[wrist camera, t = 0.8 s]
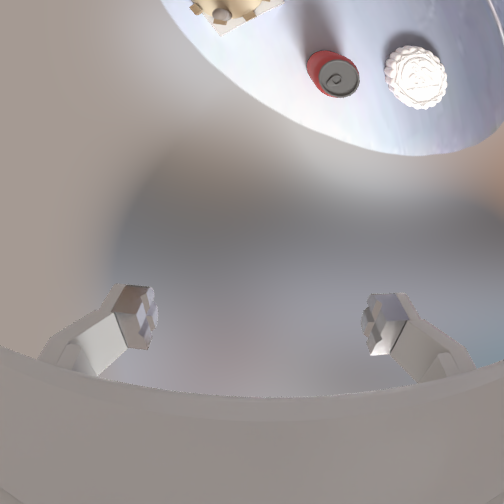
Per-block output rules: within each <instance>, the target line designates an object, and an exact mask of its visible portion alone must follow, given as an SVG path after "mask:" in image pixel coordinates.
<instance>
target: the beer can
mask: <svg viewBox="0 0 504 504" xmlns="http://www.w3.org/2000/svg"><path fill="white" fill-rule="evenodd" d="M307 72H308V74H309V76H310V78H311V79H312V81H313V82H314V84H315V85H316V87H317V88H318V89H319V90H320V91H321V92H322V93H324V94H326V95H327V96H331V97H335V98H344V97H347V96H350V95H351V94H353V93H354V92H355V91H356V90H357V88H358V86H359V82H360V80H359V72H358V70H357V68H356V66H355V65H354V63H353V62H352V61H351V60H349V59H348V58H346V57H344V56H342V55H339V54H337V53H334V52H331V51H327V50H325V51H319V52H316V53H314V54H313V55H312V56H311V57H310V58H309V60H308V62H307Z"/></svg>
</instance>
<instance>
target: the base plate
mask: <svg viewBox="0 0 504 504" xmlns="http://www.w3.org/2000/svg"><path fill="white" fill-rule="evenodd" d="M191 1H192V2H193V3H194V4H195V2H194V0H191ZM282 4H285V2H284V1H283V0H270V2H267V1H262V2H261V4H260V5H259V6H258V7H257V8H256V9H255V10H254V11H253V12H254V13H255V14H256V16H259V15H261V14H263V13H265V12H267V11H269V10H272V9H274V8H276V7H278V6H280V5H282ZM202 14H203V15H204V16H205V18H206V19H207V20H208V21H209V22H210V24H211V25H212V26H213V27H214V29H215V30H216V31H217V33H218V34H219V35H220V36H221V37H222V36H223V35H225V34H227V33H228V32H230V31H232V30H234V29H235V28H237V27H239V26H241V25H242V24H244V23H246V22H247V21H246V20H245V19H244V18H243V17H240V18H235V19H230V20H228V21H227V25H220V24H213V22H214V17H212V16H210V15H207V14H206V13H204V12H202ZM253 19H254V18H253ZM251 20H252V19H251ZM249 21H250V20H249Z"/></svg>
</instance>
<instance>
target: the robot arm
mask: <svg viewBox="0 0 504 504" xmlns="http://www.w3.org/2000/svg"><path fill="white" fill-rule="evenodd" d="M154 296H155V295H154V291H153V288H152V287H147V286H137V285H126V284H115V285H114V286H113V287H112V288H111V290H110V292H109V294H108V295H107V297H106V298H105V300H104V302H103V303H102V305H101V307H100V308H99V310H94V311H92V312H91V313H89V314H87V315H86V316H84V317H83V318H81V319H79V320H78V321H76V322H74V323H73V324H71V325H69V326H68V327H66V328H64V329H63V330H61V331H60V332H58V333H56V334H55V335H53V336H52V337H50V338H49V340H48V342H47V343H46V345H45V347H44V349H43V350H42V352H41V353H40V355H39V357H38V359H34V358H32V357H29V356H26V355H23V354H21V353H18V352H15V351H13V350H10V349H8V348H5V347H3V346H1V345H0V504H504V360H502V361H499V362H496V363H494V364H491V365H487V366H484V367H481V368H478V369H477V368H476V366H475V364H474V362H473V361H472V359H471V357H470V355H469V353H468V351H467V350H466V348H465V347H464V346H462V345H461V344H459V343H458V342H457V341H455V340H454V339H452V338H451V337H449V336H448V335H447V334H445V333H444V332H442V331H441V330H439V329H438V328H436V327H435V326H434V325H432V324H430V323H429V322H428V321H426V320H425V319H421V318H420V316H419V315H418V313H417V311H416V309H415V308H414V306H413V304H412V302H411V301H410V299H409V297H408V296H407V295H406V294H405V293H389V294H371V295H370V296H369V297H368V300H367V304H368V306H369V307H367V308H366V309H365V310H364V311H363V314H362V318H361V327H362V331H363V334H364V335H365V336H367V337H368V340H367V342H366V343H367V346H368V349H369V351H370V354H371V355H382V354H390V355H391V357H392V358H393V359H394V360H395V361H396V362H397V363H398V364H399V365H400V366H401V367H402V368H403V369H404V370H405V371H406V372H407V373H408V374H409V375H410V376H411V377H412V378H413V379H414V380H415V381H416V382H417V383H418V384H413V385H408V386H402V387H396V388H390V389H383V390H376V391H369V392H360V393H351V394H340V395H329V396H312V397H236V396H219V395H206V394H196V393H186V392H178V391H170V390H163V389H157V388H150V387H144V386H138V385H133V384H127V383H123V382H118V381H113V380H108V379H104V378H100V377H98V375H99V374H100V373H101V372H102V371H104V370H105V369H106V368H107V367H108V366H109V365H110V364H111V363H112V362H113V361H114V360H116V359H117V358H118V357H119V356H120V355H121V354H122V353H123V352H124V351H126V350H127V348H135V349H144V350H148V348H149V345H150V342H151V340H152V334H151V331H153V330H154V329H155V328H156V325H157V322H158V321H157V320H158V308H157V305H156V303H155V302H154V301H153V299H154Z"/></svg>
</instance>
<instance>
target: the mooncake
mask: <svg viewBox="0 0 504 504" xmlns="http://www.w3.org/2000/svg"><path fill="white" fill-rule="evenodd" d="M386 66H387V67H386V68H385V70H384V72H385V74H386V75H387V76H386V77H385V80H386V82H387V83H388V84H389V90H390V91H391V92H393V93H394V96H395V97H396V98H397V99H399V100H400V101H402V102H403V103H405V104H406V105H407V106H409V107H412V106H413V107H414V108H415V109H420V108H423V109H427V108H429V106H430V107H434V106H435V105H436V102H440V101H441V99H442V96H444V95H445V92H446V91H445V88H446V87H447V81H446V79H447V74H446V72H445V71H444V70H445V68H444V66H443V64H442V63H440V60H439V58H438V57H437V56H434V55H433V53H432V52H431V51H429V50H425V49H424V48H422V47H418V46H408V45H406V46H404V47H403V48H397V49H396V51H395V52H392V53H391V54H390V59H387V61H386Z"/></svg>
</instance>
